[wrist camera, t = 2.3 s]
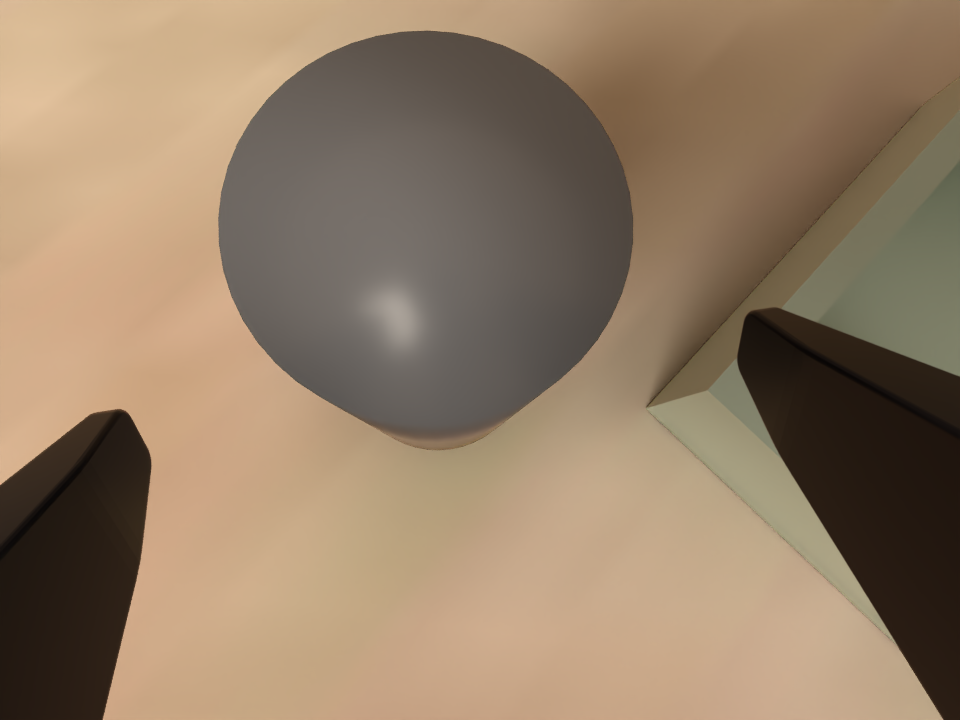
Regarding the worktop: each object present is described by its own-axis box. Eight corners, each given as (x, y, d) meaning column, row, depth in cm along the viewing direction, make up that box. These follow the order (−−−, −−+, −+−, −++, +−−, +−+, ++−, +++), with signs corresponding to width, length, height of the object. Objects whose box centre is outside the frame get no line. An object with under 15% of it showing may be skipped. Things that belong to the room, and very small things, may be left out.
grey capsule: (560, 361, 19) (715, 218, 8) (439, 487, 18) (431, 517, 7) (437, 243, 19) (427, -42, 8) (314, 363, 19) (128, 217, 8)
